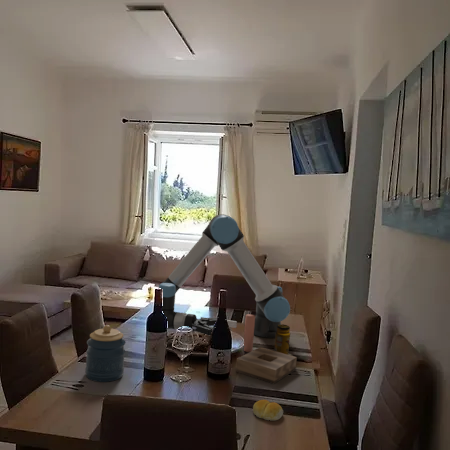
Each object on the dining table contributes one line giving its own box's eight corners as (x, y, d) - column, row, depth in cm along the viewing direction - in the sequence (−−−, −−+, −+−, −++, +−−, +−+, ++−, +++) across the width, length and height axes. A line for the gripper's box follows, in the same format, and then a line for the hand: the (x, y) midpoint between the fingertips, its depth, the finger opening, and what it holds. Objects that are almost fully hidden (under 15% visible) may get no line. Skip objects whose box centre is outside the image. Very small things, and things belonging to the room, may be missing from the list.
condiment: (292, 355, 198) (295, 327, 197) (277, 358, 193) (279, 329, 192) (281, 349, 204) (283, 322, 203) (266, 352, 199) (268, 324, 198)
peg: (246, 347, 203) (248, 313, 202) (254, 350, 201) (256, 315, 200) (241, 350, 200) (244, 315, 198) (249, 352, 197) (252, 317, 196)
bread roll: (260, 405, 149) (261, 393, 149) (285, 414, 144) (286, 401, 144) (247, 415, 142) (248, 402, 142) (273, 424, 137) (274, 411, 137)
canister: (89, 384, 155) (92, 332, 153) (81, 370, 166) (84, 321, 165) (128, 380, 161) (131, 329, 159) (118, 366, 172) (121, 318, 171)
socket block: (259, 359, 190) (260, 347, 190) (295, 369, 181) (296, 357, 181) (235, 371, 175) (236, 358, 175) (274, 383, 166) (275, 370, 166)
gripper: (193, 323, 218) (238, 329, 213) (175, 338, 194) (225, 346, 189) (194, 307, 218) (239, 313, 213) (177, 320, 193) (227, 327, 188)
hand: (233, 328), depth 201 cm, fingers open, 13 cm apart
